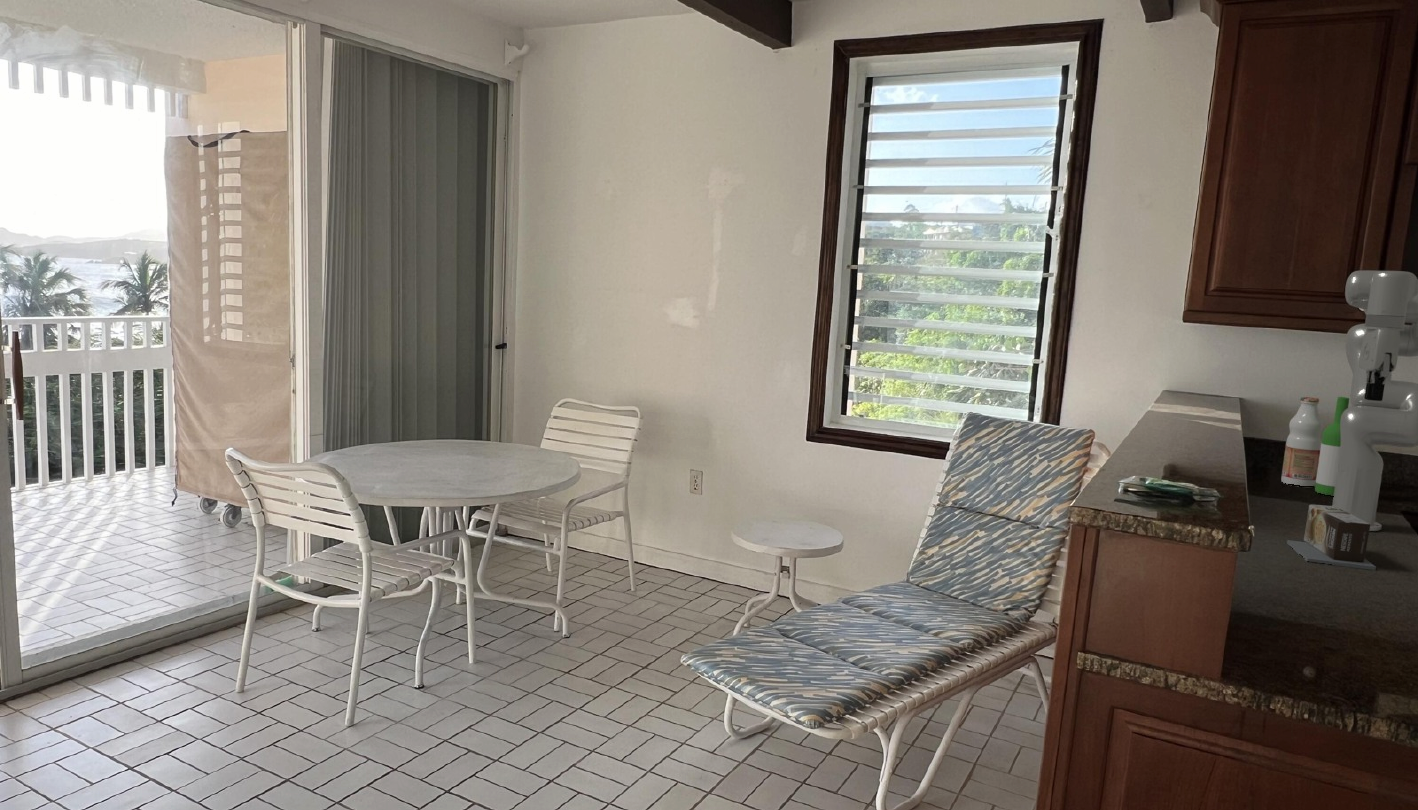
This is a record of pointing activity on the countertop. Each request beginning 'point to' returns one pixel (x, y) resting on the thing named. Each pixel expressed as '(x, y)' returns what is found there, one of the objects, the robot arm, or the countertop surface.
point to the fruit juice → (1303, 445)
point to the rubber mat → (1325, 556)
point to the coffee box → (1336, 533)
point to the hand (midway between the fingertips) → (1373, 400)
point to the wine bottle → (1330, 452)
